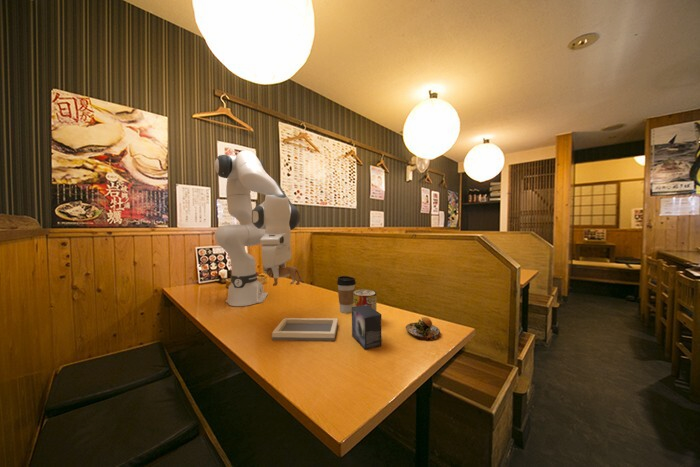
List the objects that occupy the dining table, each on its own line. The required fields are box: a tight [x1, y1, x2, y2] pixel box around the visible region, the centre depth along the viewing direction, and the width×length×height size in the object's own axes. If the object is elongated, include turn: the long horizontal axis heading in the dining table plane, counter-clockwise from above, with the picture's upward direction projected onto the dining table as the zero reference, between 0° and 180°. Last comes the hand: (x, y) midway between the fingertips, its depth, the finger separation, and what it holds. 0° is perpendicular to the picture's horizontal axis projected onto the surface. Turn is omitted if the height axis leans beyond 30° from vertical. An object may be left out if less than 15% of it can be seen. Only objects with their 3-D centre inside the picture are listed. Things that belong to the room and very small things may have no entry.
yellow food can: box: [353, 289, 377, 311], centre depth 96 cm, size 9×9×12 cm
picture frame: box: [271, 317, 339, 342], centre depth 88 cm, size 13×21×2 cm, turn 88°
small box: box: [351, 304, 383, 351], centre depth 81 cm, size 11×6×10 cm, turn 23°
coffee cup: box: [336, 275, 357, 314], centre depth 109 cm, size 8×8×15 cm
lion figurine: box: [262, 265, 305, 287], centre depth 89 cm, size 15×5×9 cm, turn 102°
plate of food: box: [405, 316, 441, 342], centre depth 87 cm, size 12×12×8 cm
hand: (279, 276), depth 89 cm, fingers closed on lion figurine, 4 cm apart
